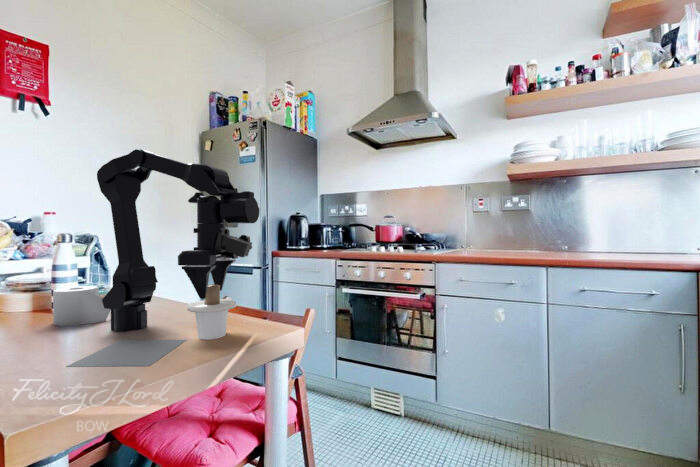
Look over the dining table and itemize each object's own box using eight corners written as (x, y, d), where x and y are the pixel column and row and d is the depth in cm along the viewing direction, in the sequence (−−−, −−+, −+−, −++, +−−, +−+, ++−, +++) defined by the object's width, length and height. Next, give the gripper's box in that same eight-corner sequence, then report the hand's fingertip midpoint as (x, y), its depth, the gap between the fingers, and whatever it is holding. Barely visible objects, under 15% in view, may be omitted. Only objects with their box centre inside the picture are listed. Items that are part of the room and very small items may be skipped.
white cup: (233, 334, 78) (233, 304, 78) (219, 344, 71) (219, 311, 71) (205, 333, 79) (205, 303, 79) (188, 343, 72) (188, 310, 72)
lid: (178, 312, 70) (178, 289, 70) (198, 302, 80) (198, 282, 80) (227, 312, 70) (227, 289, 70) (241, 302, 80) (241, 282, 80)
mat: (66, 371, 58) (66, 366, 57) (120, 343, 72) (120, 340, 72) (149, 370, 58) (149, 365, 58) (187, 343, 72) (187, 339, 72)
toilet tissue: (112, 320, 90) (112, 288, 90) (47, 327, 84) (47, 292, 84) (117, 313, 98) (117, 283, 98) (58, 319, 92) (58, 287, 92)
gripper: (234, 222, 65) (234, 303, 66) (258, 224, 84) (258, 287, 84) (176, 222, 65) (176, 303, 65) (213, 224, 84) (213, 287, 84)
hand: (211, 294), depth 75 cm, fingers open, 9 cm apart
